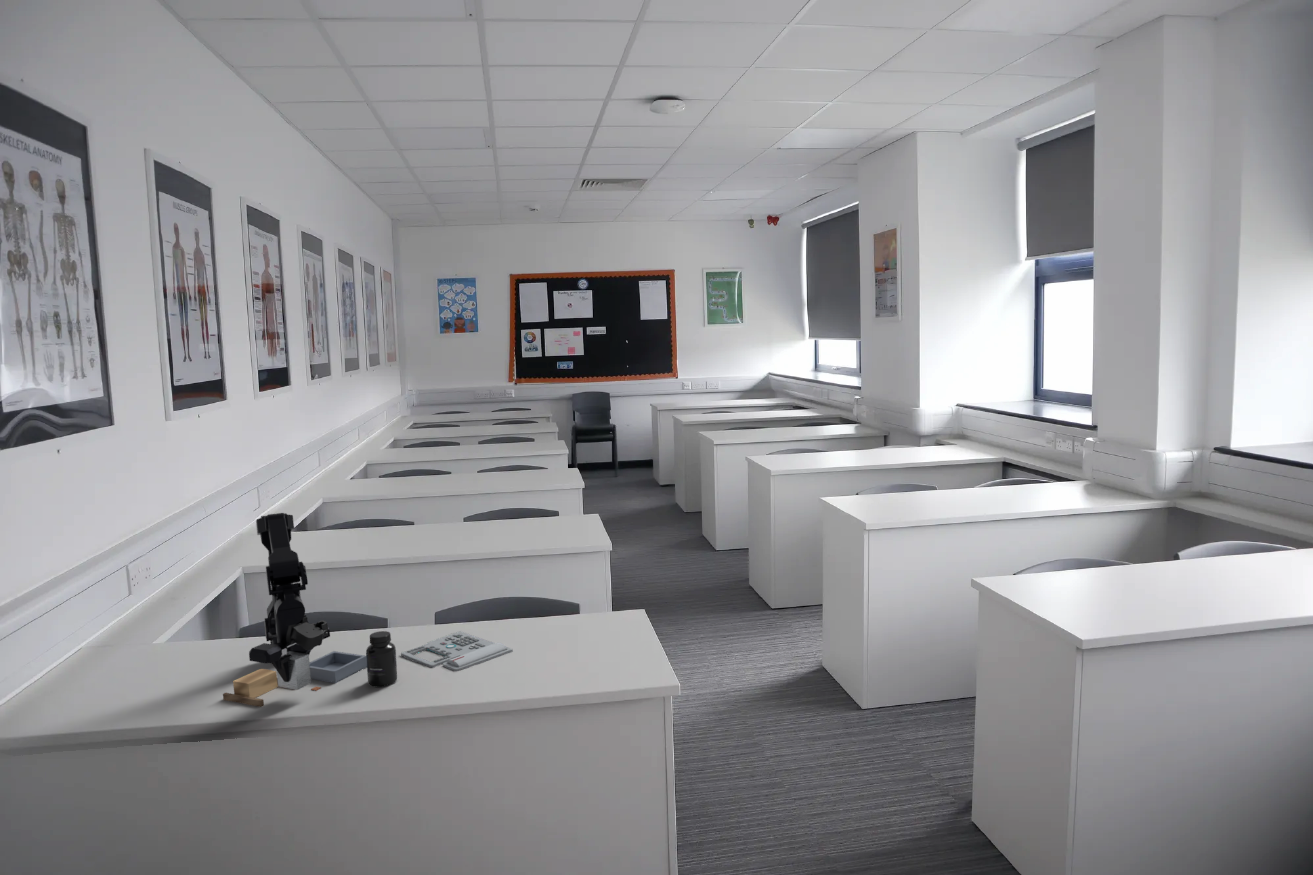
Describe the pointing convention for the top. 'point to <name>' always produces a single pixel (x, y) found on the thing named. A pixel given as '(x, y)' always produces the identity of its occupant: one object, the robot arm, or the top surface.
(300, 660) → the block
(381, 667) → the supplement bottle
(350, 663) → the tray
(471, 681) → the top surface
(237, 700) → the bar
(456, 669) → the office telephone
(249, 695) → the block
